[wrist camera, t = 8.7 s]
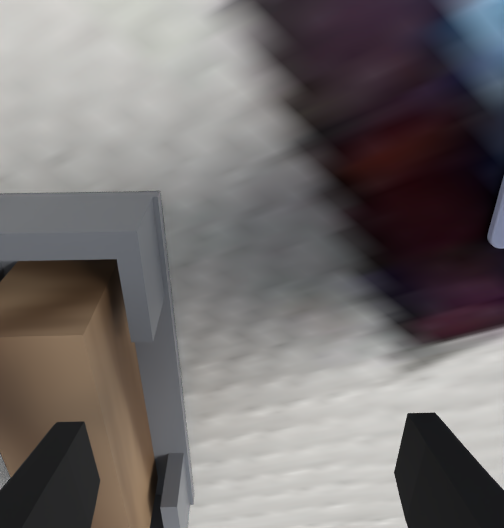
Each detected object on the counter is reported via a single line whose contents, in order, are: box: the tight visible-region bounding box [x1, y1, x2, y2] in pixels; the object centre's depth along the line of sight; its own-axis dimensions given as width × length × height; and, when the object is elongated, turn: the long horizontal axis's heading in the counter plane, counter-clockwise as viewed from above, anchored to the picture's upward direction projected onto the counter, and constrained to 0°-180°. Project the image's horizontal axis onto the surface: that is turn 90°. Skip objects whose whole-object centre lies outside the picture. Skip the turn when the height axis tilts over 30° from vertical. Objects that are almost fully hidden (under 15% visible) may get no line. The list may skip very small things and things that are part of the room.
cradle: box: [0, 191, 194, 528], centre depth 21 cm, size 8×19×4 cm, turn 0°
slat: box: [0, 259, 158, 528], centre depth 20 cm, size 4×14×5 cm, turn 1°
